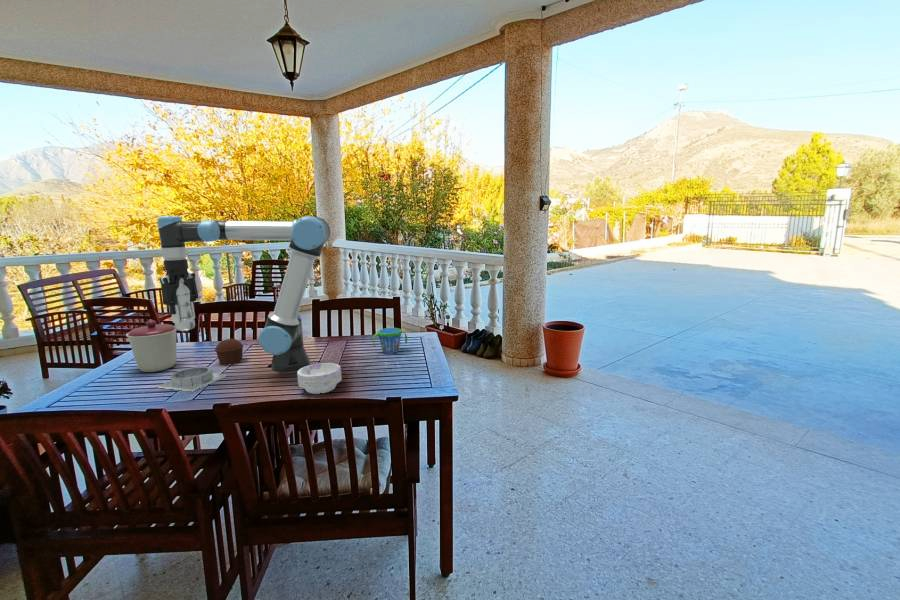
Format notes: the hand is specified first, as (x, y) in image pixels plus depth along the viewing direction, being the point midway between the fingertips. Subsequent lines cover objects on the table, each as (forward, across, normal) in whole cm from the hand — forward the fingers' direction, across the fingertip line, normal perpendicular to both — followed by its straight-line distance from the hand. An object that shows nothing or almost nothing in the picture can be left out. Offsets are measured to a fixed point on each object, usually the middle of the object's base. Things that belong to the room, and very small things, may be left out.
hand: (184, 320), depth 166 cm
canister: (+25, -10, -29) cm, 40 cm away
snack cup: (+25, -52, +60) cm, 83 cm away
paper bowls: (+25, -5, +53) cm, 59 cm away
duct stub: (+25, 0, 0) cm, 25 cm away
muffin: (+25, -24, -4) cm, 35 cm away
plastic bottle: (+4, 0, 0) cm, 4 cm away
